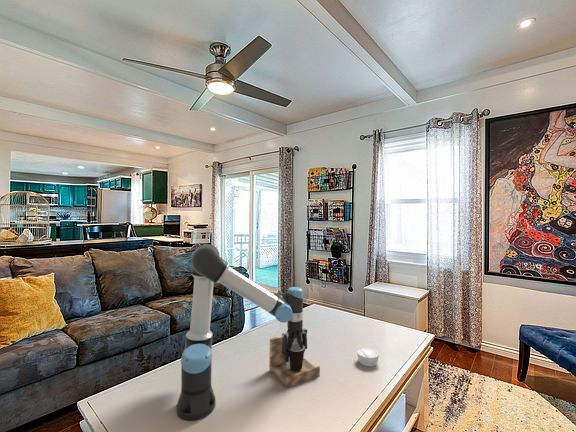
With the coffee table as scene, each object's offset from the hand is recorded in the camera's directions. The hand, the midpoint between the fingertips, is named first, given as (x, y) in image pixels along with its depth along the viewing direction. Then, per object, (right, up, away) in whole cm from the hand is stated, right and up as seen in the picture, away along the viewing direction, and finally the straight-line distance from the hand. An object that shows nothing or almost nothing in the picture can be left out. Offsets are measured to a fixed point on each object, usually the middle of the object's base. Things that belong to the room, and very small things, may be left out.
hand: (294, 365), depth 141 cm
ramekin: (+39, -4, +11) cm, 41 cm away
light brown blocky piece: (0, -4, 0) cm, 4 cm away
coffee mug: (+1, 0, +1) cm, 1 cm away
